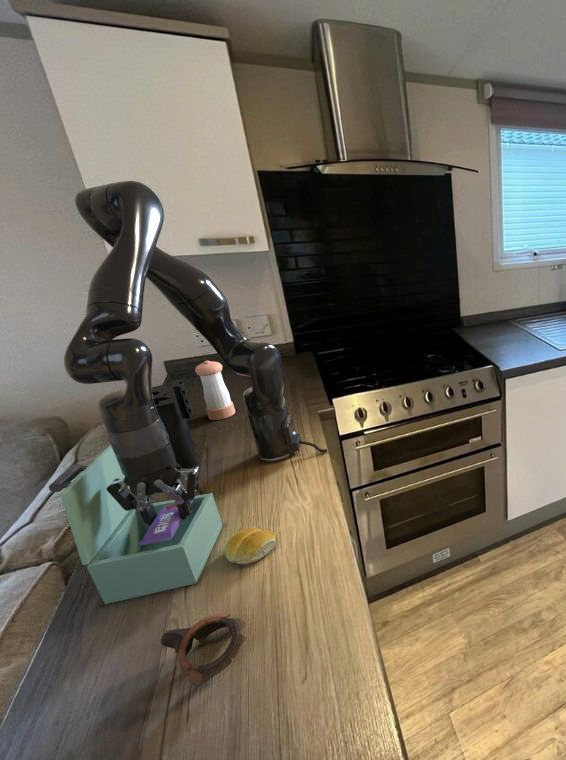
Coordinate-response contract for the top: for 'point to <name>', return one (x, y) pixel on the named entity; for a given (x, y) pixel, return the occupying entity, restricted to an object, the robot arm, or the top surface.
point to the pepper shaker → (215, 391)
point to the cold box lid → (91, 502)
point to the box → (155, 553)
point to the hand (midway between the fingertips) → (170, 519)
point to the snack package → (163, 525)
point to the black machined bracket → (176, 421)
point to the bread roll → (249, 545)
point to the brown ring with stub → (200, 631)
